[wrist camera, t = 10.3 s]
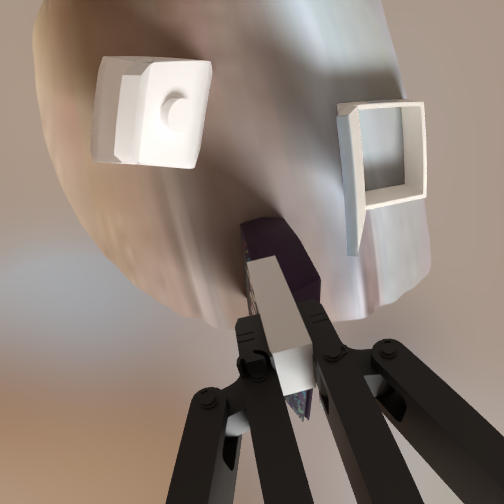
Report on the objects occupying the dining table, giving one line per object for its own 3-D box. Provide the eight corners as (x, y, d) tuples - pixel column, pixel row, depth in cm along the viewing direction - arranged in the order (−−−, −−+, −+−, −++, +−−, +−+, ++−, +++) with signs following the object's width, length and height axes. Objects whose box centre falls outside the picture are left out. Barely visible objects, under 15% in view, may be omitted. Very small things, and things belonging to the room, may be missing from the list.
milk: (135, 65, 38) (64, 37, 16) (212, 71, 41) (222, 39, 18) (126, 142, 44) (53, 192, 21) (200, 148, 46) (197, 203, 23)
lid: (357, 256, 37) (346, 255, 38) (366, 212, 47) (357, 212, 47) (347, 116, 29) (334, 116, 30) (357, 105, 39) (348, 105, 40)
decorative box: (244, 301, 60) (273, 430, 35) (236, 220, 52) (269, 338, 27) (287, 295, 60) (336, 417, 36) (286, 214, 53) (355, 322, 28)
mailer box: (407, 187, 53) (426, 197, 48) (346, 198, 53) (361, 211, 48) (403, 98, 46) (423, 101, 40) (336, 103, 45) (352, 104, 40)
